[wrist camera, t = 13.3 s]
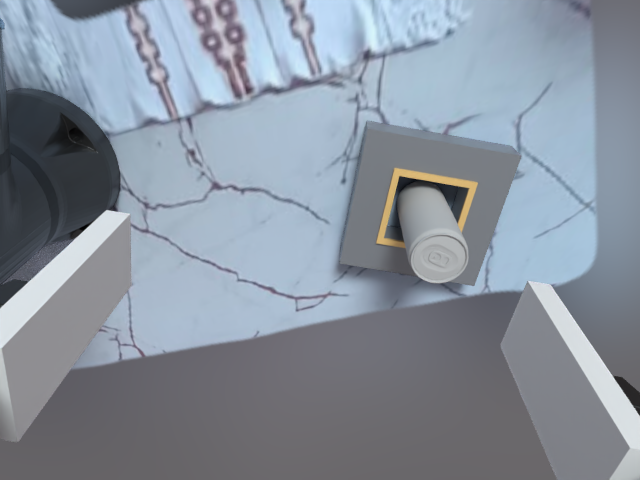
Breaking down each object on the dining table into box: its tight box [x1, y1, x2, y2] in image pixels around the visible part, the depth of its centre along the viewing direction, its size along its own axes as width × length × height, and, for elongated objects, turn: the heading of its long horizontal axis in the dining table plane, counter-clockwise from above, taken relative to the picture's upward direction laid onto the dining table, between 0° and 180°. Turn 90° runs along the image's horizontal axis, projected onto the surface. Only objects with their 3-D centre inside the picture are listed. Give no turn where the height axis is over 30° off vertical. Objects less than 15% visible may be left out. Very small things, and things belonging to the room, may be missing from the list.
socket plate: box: [340, 121, 521, 286], centre depth 48 cm, size 14×14×3 cm
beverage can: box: [396, 181, 469, 283], centre depth 45 cm, size 5×5×12 cm
